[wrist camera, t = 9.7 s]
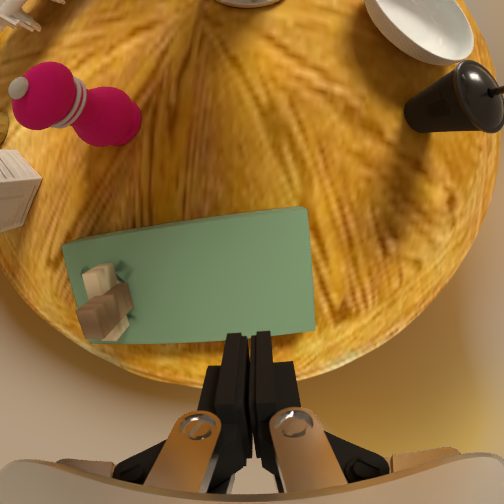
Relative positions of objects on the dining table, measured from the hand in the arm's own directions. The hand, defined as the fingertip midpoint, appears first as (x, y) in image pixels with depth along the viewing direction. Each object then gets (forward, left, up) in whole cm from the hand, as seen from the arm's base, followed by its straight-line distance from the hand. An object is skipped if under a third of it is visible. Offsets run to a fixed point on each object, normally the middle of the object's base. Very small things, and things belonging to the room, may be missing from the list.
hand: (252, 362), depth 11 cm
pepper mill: (-17, -15, -25) cm, 34 cm away
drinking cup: (-14, +24, -25) cm, 37 cm away
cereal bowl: (-30, +26, -25) cm, 46 cm away
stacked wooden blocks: (+4, -17, -19) cm, 26 cm away
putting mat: (+4, -9, -24) cm, 26 cm away
